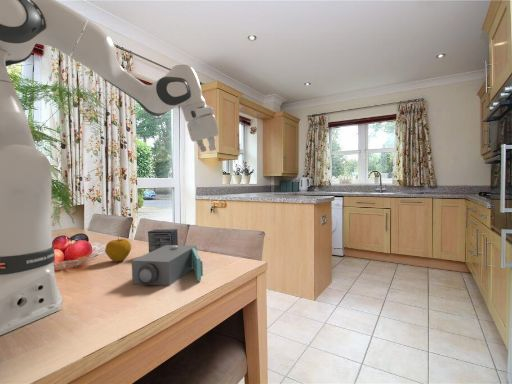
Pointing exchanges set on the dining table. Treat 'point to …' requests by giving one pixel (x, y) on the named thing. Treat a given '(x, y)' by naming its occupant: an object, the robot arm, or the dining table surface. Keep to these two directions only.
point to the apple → (118, 249)
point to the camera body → (162, 265)
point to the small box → (162, 238)
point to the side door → (197, 264)
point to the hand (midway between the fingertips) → (208, 150)
